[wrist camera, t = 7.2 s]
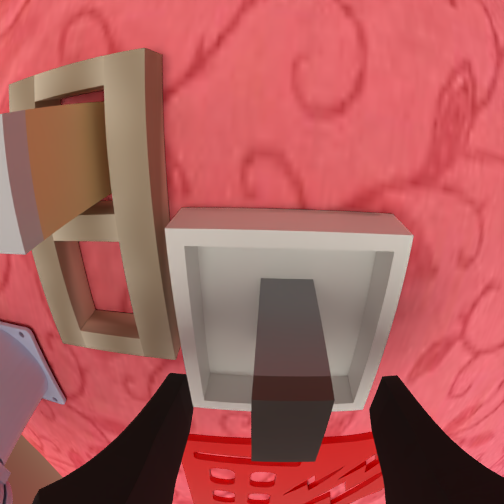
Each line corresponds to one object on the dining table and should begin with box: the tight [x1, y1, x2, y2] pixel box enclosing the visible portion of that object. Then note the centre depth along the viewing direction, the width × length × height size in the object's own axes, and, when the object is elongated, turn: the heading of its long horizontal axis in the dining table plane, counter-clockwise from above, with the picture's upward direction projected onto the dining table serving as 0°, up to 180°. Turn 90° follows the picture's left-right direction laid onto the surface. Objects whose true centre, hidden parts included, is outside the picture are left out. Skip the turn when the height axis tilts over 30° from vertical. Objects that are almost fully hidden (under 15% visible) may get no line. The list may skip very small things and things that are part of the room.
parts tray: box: [165, 208, 414, 412], centre depth 15 cm, size 9×10×2 cm
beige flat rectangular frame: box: [9, 48, 181, 360], centre depth 13 cm, size 7×14×2 cm, turn 0°
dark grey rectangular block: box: [251, 278, 335, 462], centre depth 13 cm, size 2×4×7 cm, turn 0°
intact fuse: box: [0, 102, 112, 255], centre depth 10 cm, size 2×4×7 cm, turn 0°
